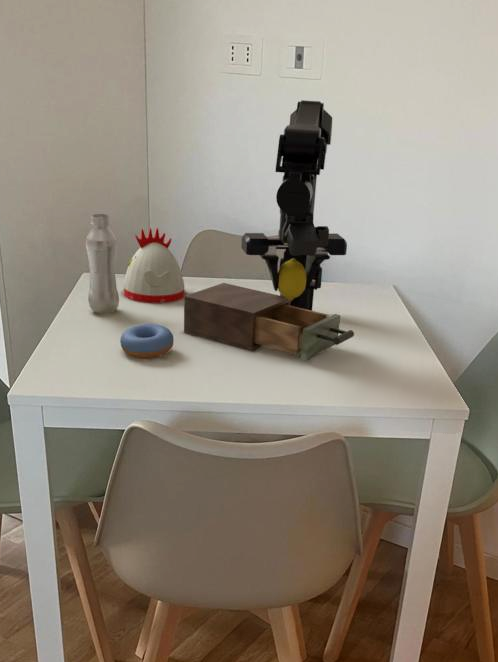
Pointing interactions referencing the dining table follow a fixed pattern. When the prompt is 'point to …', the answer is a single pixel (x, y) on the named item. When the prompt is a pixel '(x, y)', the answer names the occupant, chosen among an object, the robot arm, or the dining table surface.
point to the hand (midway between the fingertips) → (290, 290)
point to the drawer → (299, 330)
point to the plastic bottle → (102, 265)
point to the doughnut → (146, 340)
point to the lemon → (291, 279)
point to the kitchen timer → (153, 272)
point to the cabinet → (228, 313)
